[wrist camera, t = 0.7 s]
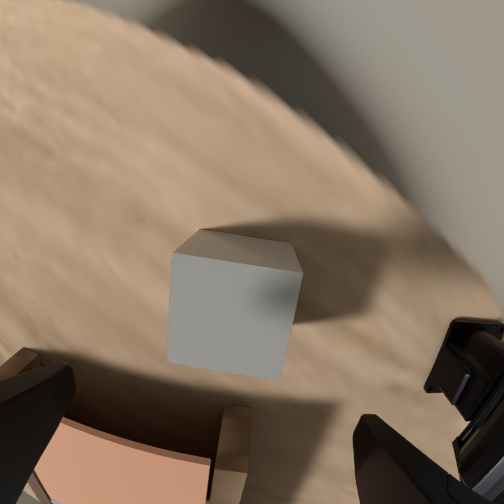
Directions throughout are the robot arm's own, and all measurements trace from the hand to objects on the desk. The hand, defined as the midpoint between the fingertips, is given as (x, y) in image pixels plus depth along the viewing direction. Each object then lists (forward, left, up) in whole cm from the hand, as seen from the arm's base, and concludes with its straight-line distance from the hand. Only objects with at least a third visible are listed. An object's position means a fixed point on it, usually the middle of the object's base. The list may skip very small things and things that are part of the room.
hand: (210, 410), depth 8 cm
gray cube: (0, 0, -12) cm, 12 cm away
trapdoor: (+8, +21, -8) cm, 24 cm away
